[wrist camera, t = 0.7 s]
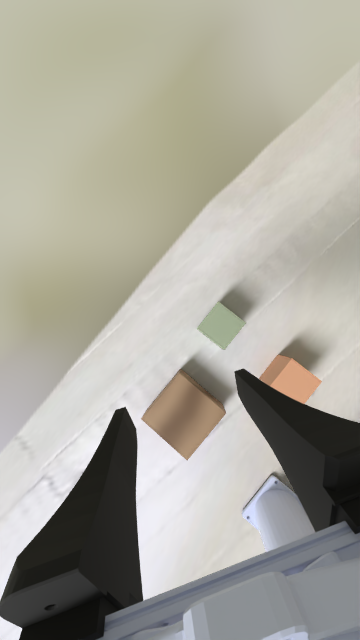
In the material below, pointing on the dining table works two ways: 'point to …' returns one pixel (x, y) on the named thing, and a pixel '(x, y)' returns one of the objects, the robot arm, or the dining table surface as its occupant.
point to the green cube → (221, 325)
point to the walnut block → (184, 414)
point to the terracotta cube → (290, 378)
